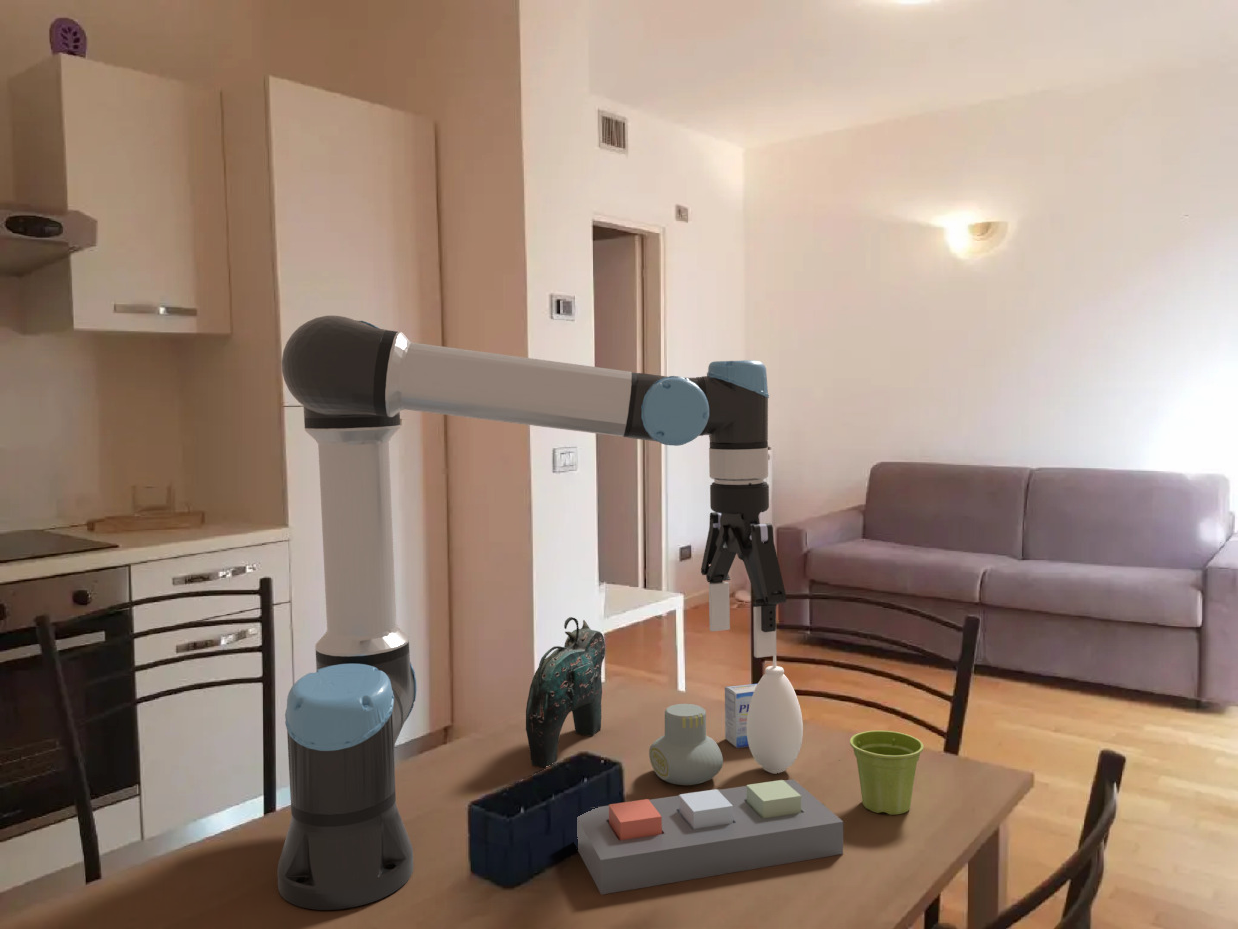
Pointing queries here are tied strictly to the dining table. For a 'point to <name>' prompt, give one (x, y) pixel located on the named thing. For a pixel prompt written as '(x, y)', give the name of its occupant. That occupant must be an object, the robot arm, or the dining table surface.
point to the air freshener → (685, 748)
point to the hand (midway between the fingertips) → (741, 642)
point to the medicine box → (737, 713)
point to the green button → (773, 799)
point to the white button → (705, 809)
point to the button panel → (706, 843)
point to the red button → (634, 819)
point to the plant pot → (886, 769)
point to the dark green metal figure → (565, 692)
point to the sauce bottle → (774, 721)
